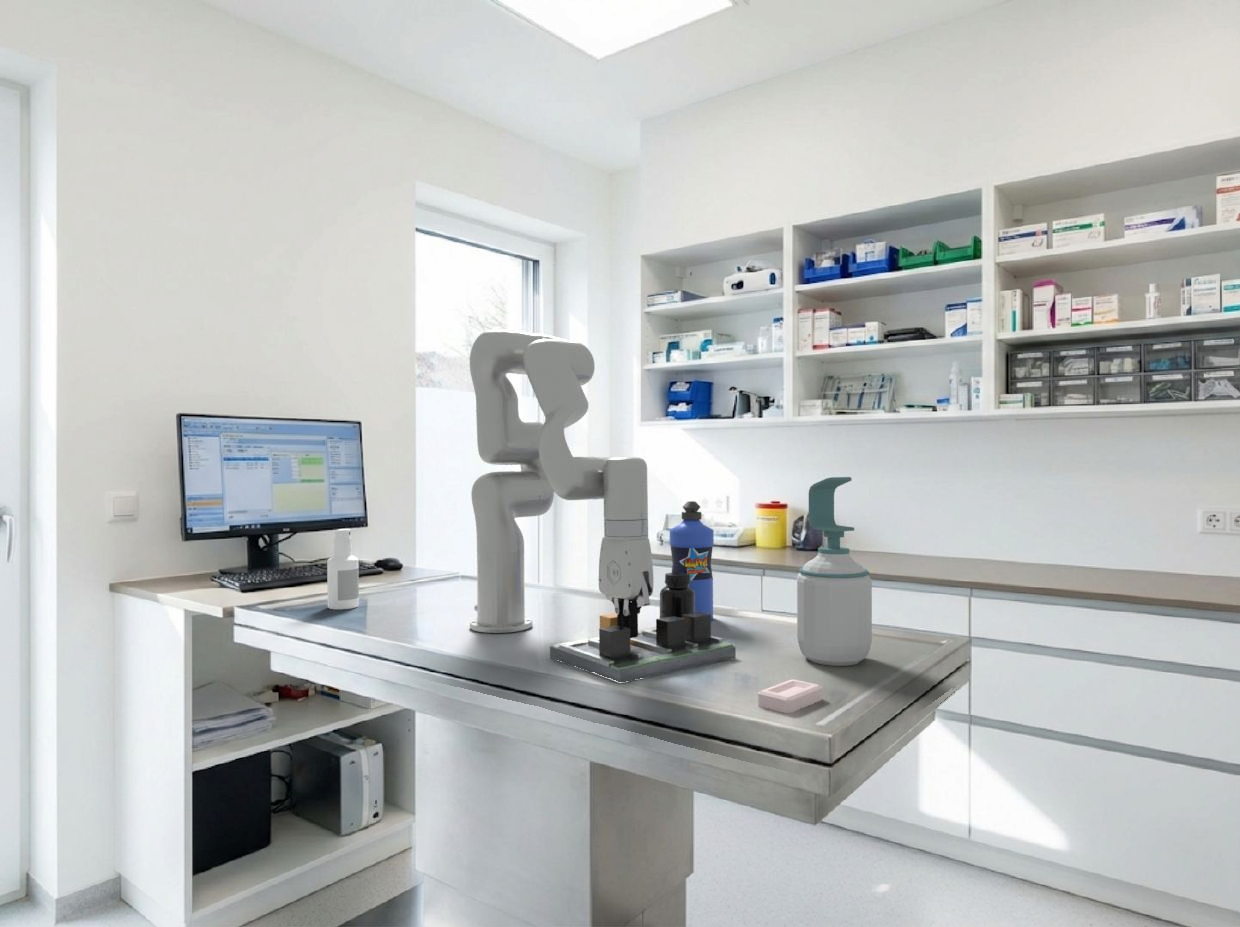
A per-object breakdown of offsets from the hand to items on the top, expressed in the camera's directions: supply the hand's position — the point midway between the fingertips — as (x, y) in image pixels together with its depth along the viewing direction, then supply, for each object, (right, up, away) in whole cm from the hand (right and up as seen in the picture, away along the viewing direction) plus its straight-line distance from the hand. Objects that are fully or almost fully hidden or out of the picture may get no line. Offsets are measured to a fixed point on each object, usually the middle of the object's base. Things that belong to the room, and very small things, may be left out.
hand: (627, 637), depth 137 cm
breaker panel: (+3, -4, +2) cm, 5 cm away
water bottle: (+14, -4, +34) cm, 37 cm away
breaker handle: (-2, -2, +3) cm, 4 cm away
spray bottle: (-65, -4, +49) cm, 82 cm away
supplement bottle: (+10, -4, +18) cm, 21 cm away
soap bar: (+23, -5, -23) cm, 33 cm away
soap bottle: (+35, -4, 0) cm, 35 cm away
